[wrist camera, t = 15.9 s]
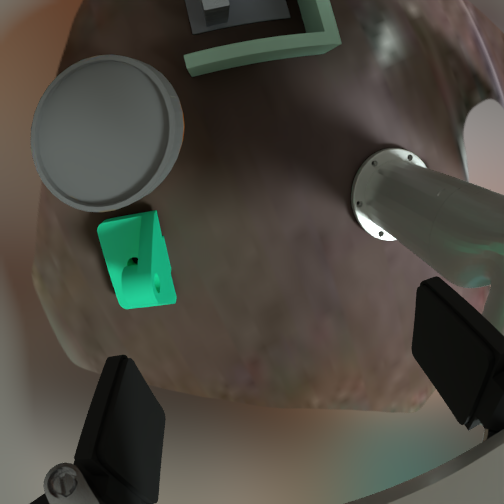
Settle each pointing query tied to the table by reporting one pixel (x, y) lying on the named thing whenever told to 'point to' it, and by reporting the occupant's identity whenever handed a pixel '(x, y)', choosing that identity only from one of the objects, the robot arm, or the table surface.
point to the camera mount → (149, 260)
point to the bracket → (215, 11)
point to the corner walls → (273, 43)
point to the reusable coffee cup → (106, 132)
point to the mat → (238, 13)
